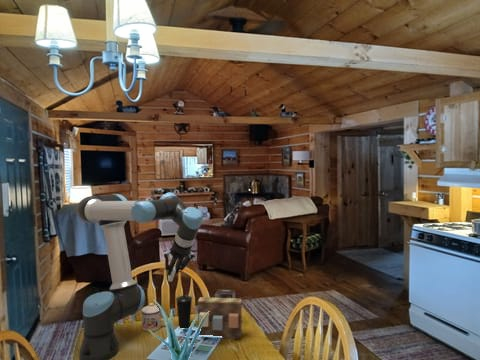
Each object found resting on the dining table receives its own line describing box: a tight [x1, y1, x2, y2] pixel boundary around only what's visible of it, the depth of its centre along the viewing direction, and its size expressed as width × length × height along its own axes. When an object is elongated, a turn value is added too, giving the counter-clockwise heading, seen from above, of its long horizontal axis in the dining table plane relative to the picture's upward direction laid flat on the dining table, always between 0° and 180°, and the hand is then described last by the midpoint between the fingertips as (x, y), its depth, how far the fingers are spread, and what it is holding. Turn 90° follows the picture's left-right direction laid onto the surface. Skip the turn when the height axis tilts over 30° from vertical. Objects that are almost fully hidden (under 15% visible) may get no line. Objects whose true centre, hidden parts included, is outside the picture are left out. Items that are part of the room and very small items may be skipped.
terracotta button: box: [229, 313, 238, 328], centre depth 156 cm, size 4×8×5 cm, turn 175°
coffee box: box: [214, 288, 237, 298], centre depth 170 cm, size 9×6×16 cm
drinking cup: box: [175, 284, 193, 329], centre depth 167 cm, size 8×8×20 cm
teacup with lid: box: [140, 302, 165, 333], centre depth 166 cm, size 12×9×12 cm
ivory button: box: [199, 312, 209, 327], centre depth 157 cm, size 4×8×5 cm, turn 175°
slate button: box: [213, 315, 223, 330], centre depth 154 cm, size 4×8×5 cm, turn 175°
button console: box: [197, 296, 243, 340], centre depth 159 cm, size 19×6×17 cm, turn 85°
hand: (169, 278), depth 151 cm, fingers closed
